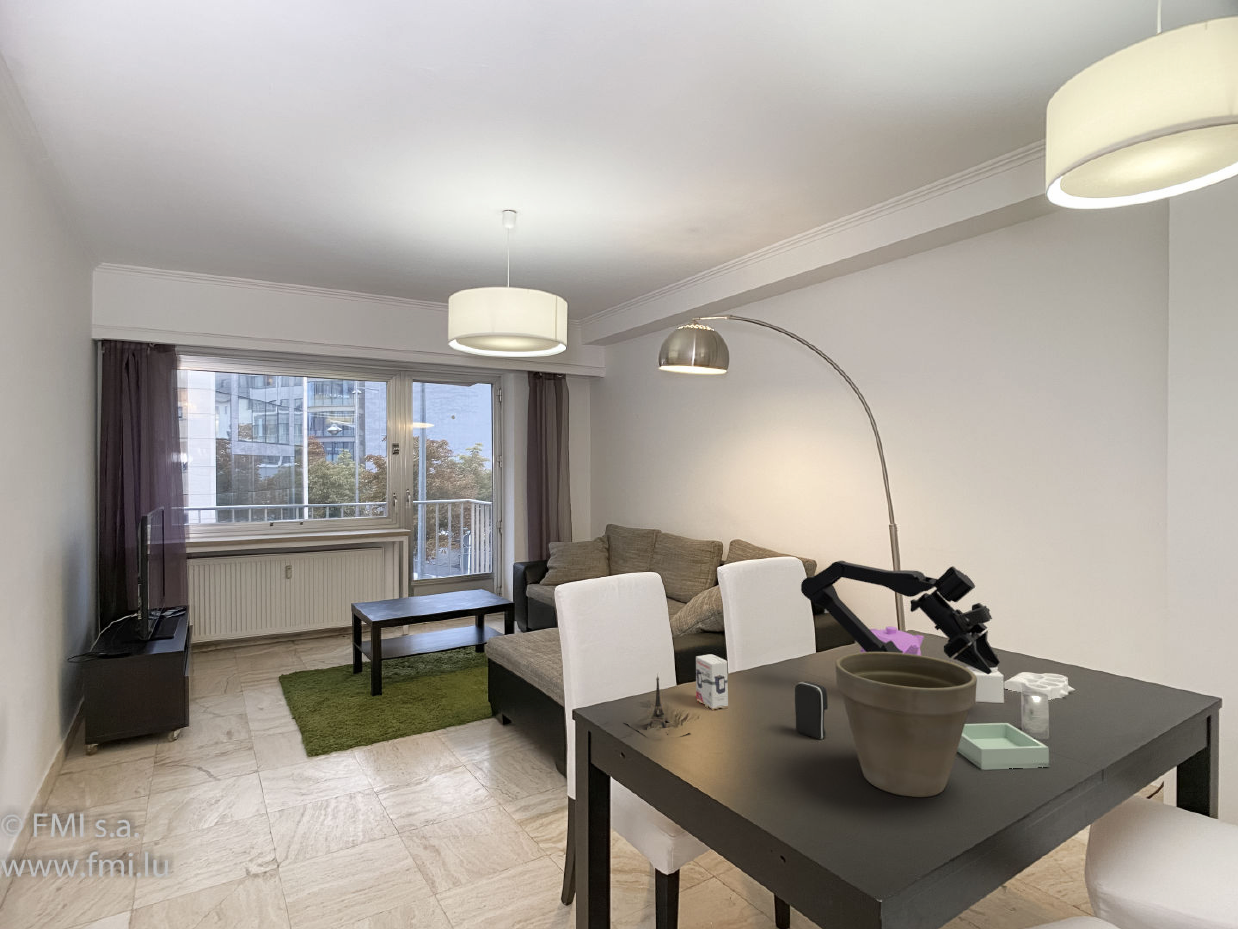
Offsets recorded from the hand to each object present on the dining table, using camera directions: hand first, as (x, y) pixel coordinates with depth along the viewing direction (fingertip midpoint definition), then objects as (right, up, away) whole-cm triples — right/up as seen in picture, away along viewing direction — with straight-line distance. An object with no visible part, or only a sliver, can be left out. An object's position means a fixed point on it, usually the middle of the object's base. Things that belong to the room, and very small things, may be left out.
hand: (994, 668), depth 160 cm
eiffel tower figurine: (-78, -15, +2) cm, 79 cm away
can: (+6, -13, -5) cm, 16 cm away
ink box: (-63, -15, +18) cm, 67 cm away
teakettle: (-4, -14, +48) cm, 51 cm away
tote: (-8, -13, -16) cm, 22 cm away
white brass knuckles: (+26, -14, +26) cm, 39 cm away
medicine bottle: (+8, -14, +20) cm, 26 cm away
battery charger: (-43, -14, -3) cm, 45 cm away
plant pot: (-32, -14, -27) cm, 44 cm away
